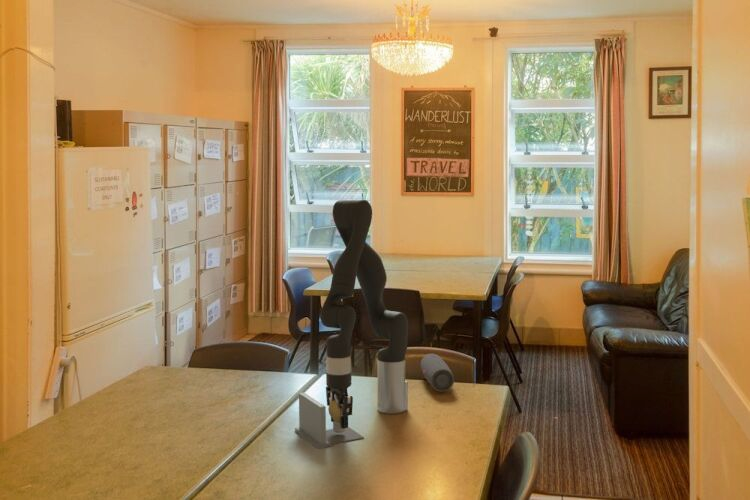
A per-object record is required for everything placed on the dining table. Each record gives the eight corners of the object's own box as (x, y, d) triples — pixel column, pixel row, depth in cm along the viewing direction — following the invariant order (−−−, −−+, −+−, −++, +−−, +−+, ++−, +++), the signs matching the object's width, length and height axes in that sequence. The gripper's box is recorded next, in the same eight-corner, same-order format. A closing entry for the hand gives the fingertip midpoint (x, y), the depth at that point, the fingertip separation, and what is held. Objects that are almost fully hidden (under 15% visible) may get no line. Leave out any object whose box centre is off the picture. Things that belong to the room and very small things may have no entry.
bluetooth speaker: (418, 378, 302) (418, 352, 301) (442, 377, 303) (443, 351, 302) (429, 395, 279) (429, 368, 278) (455, 394, 280) (455, 367, 279)
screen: (307, 428, 246) (306, 391, 244) (330, 446, 231) (330, 406, 229) (295, 431, 244) (294, 393, 242) (318, 448, 229) (317, 408, 228)
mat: (347, 427, 247) (347, 426, 247) (363, 438, 237) (363, 437, 237) (315, 433, 242) (315, 432, 242) (330, 444, 232) (330, 443, 232)
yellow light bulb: (347, 435, 235) (346, 403, 234) (326, 434, 237) (325, 401, 236) (352, 428, 242) (351, 396, 241) (331, 427, 243) (331, 395, 242)
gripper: (361, 374, 233) (361, 429, 235) (339, 363, 245) (340, 415, 247) (337, 378, 229) (338, 434, 231) (317, 366, 242) (318, 419, 244)
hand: (339, 424), depth 239 cm, fingers closed on yellow light bulb, 6 cm apart
